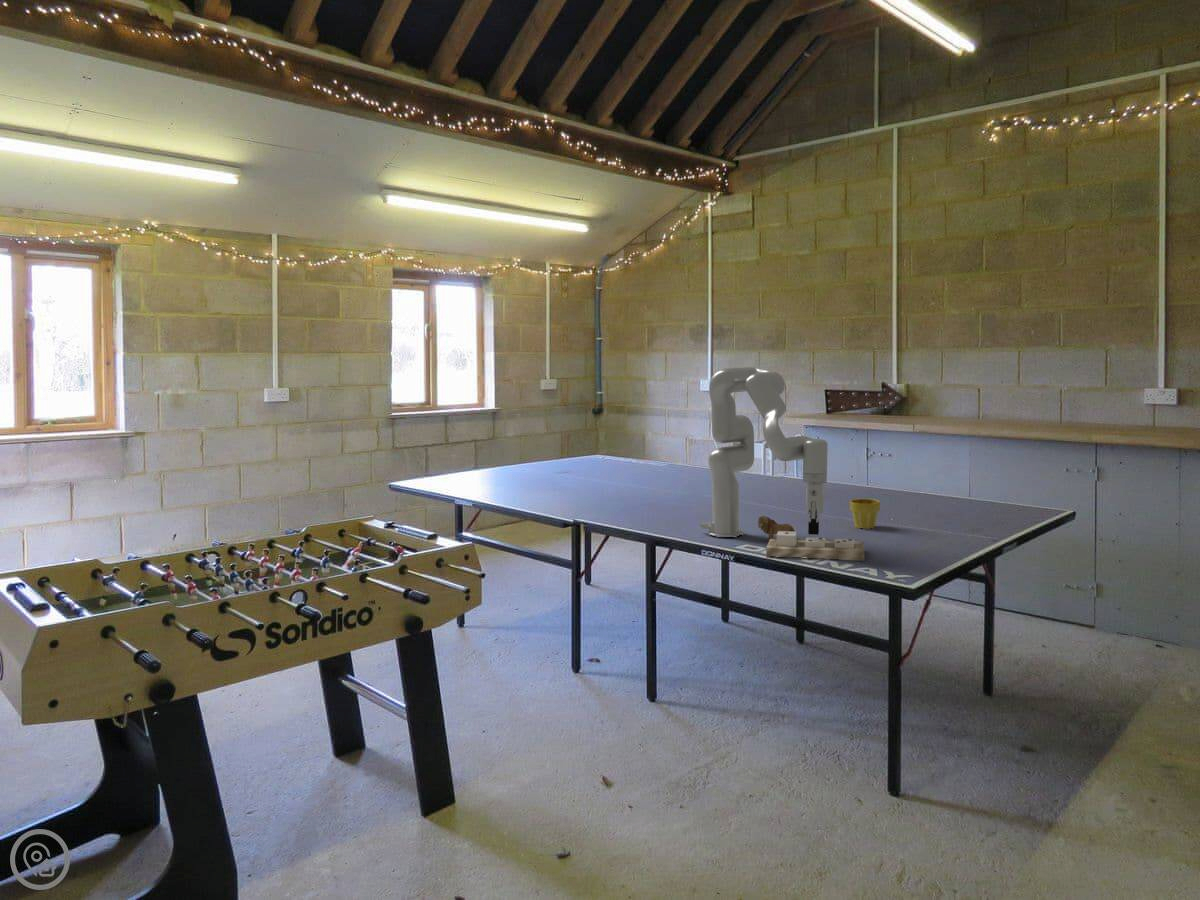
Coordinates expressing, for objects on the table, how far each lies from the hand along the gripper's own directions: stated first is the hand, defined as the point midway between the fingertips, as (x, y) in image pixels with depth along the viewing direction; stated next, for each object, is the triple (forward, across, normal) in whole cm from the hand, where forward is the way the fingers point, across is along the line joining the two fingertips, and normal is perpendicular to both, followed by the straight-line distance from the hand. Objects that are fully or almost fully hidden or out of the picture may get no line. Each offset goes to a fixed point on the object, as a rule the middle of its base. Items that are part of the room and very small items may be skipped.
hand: (813, 533), depth 279 cm
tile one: (+4, 0, +8) cm, 9 cm away
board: (+6, 0, -1) cm, 7 cm away
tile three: (+6, -1, -10) cm, 11 cm away
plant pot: (+7, +42, -17) cm, 46 cm away
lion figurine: (+7, +14, +12) cm, 20 cm away
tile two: (+6, -1, -1) cm, 6 cm away
